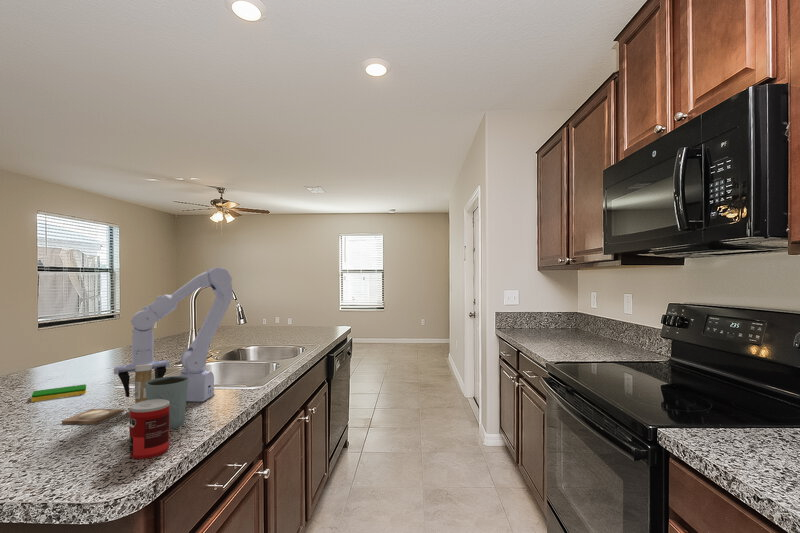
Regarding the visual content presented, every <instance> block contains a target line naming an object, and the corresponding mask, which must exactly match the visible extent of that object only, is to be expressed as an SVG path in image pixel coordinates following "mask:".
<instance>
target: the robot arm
mask: <svg viewBox="0 0 800 533" xmlns="http://www.w3.org/2000/svg"><path fill="white" fill-rule="evenodd" d="M232 281H233V278H232V275H231V274H230V272H229V271H228V270H227V269H226V268H224V267H222V266H221V267H218V266H217V267H210V268H209V269H207V270H206V271H204V272H201V273H200V274H198V275H196V276H194V277H193V278H192V279H191V280H189V281H188V282H186V283H185V284H184V285H182V286H181V287H180V288H178V289H177V290H176V291H174V292H173V293H172V294H162V295H160V294H159V295H158V296H156V298H155V300H154V301H153V302H151V303H150V304H148V305H147V306H146V305H144V306H143V307H141V309H142V310H139V311H136V313H134V314H133V316H132V319H131V320H130V321H131V322H130V323H131V325H132V326H133V328H132V329H131V330H132V331H131V332H132V335H131V364H124V365H119V366H114V367H113V374H114V375H118V377H119V379H120V381H121V384H122V386H123V389H124V392H125V393H124V395H125V397H126V398H130V393H131V392H130V377H131V376H130V372H131V373H132V372H134V373H135V369H136V365H145V364H151V363H152V370H154V379H157V378H162V377H165V375H166V372H167V368H170V367H171V366H170V365H171V363H170V361H169V359H167V360H158V361H156V360H155V361H154V350H155V349H154V344H155V343H154V342H155V340H154V338H155V337H154V327H155V324H156V322H160V321H161V320H162V319H163V318H165V317H167V316H168V315H169V314H171V313H172V312H173V311H175V310H176V309H177V307H178V303H179V302H181V301H182V300H183V299H185V298H186V297H188V296H190V295H191V294H192V293H194V292H195V291H197V290H198V289H200V288H207V287H210V288H211V289H212V291H213V294H214V295H215V298H214V300H213V302H212V304H211V306H210V308H209V310H208V312H207V315H206V316H205V318H204V321H203V323H202V324H201V327H200V329H199V331H198V332H197V335H196V336H195V338H194V340H193V341H192V342H191V343H190V345H189V346H188V348H187V349H186V350H185V351H184V352H183V353H182V354H181V357H180V362H181V364H182V365H183V367H182V369H181V370H180V376H183V377H187V378H188V386H187V393H186V402H198V403H199V402H201V403H202V402H205V401H207V400H209V399H210V398H212V397H213V396H215V395H216V393H215V390H214V389H215V376H214V373H213V371H208V370H206V365H207V356H208V354H209V350H210V345H211V344H212V342H213V339H214V337H215V335H216V333H217V330H218V328H219V327H220V324H221V323H222V320H223V319H224V316H225V314H226V312H227V310H228V308H229V306H230V304H231V302H232V301H233V298H234V293H233V292H234V291H233V282H232Z"/></svg>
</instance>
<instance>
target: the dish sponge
mask: <svg viewBox="0 0 800 533" xmlns="http://www.w3.org/2000/svg"><path fill="white" fill-rule="evenodd" d="M85 393H86V394H87V384H79V385H71V386H69V385H68V386H61V387H55V388H47V389H40V390H34V391H33V393H32V394H31V403H34V402H35V403H36V402H42V401H47V400H49V399H50V400H55V398H57V399H61V398H60V397H64V398H67V397H66V396H71V397H75V396H74V395H78V396H81V395H80V394H85ZM86 394H85V395H86ZM50 400H49V401H50Z"/></svg>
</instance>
